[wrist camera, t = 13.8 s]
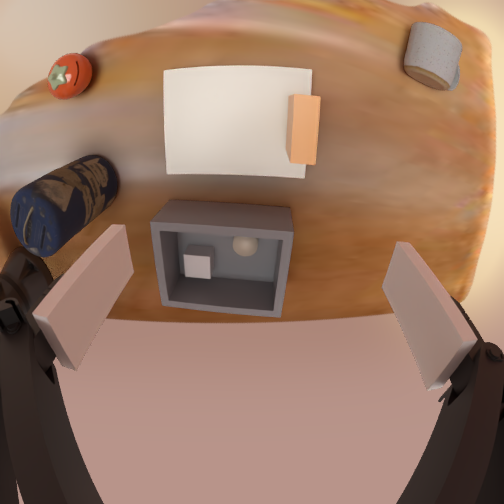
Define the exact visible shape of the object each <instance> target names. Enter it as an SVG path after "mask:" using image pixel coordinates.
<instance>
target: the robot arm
mask: <svg viewBox="0 0 504 504" xmlns="http://www.w3.org/2000/svg"><path fill="white" fill-rule="evenodd" d="M133 273H134V271H133V266H132V261H131V256H130V251H129V245H128V240H127V234H126V228H125V225H115V224H112V225H111V226H110V227H109V228H108V229H107V230H106V231H105V232H104V233H103V234H102V235H101V236H100V237H99V238H98V239H97V240H96V241H95V242H94V243H93V244H92V245H91V246H90V247H89V248H88V249H87V250H86V251H85V252H84V253H83V254H82V255H81V256H80V258H79V259H78V260H77V261H76V262H75V263H74V264H73V265H72V266H71V267H70V268H69V270H68V271H67V272H66V273H65V274H62V275H61V276H59V277H58V278H56V279H55V280H54V281H53V279H52V276H51V274H50V272H49V270H48V268H47V267H46V265H45V264H44V262H43V261H42V260H41V259H40V258H39V256H36V255H34V254H32V253H30V252H29V251H28V250H27V249H26V248H25V247H18V248H16V249H15V250H14V251H13V252H12V253H11V254H10V255H9V257H8V259H7V261H6V263H5V265H4V267H3V269H2V271H1V273H0V504H19V499H18V491H17V484H18V487H19V490H20V493H21V496H22V499H23V502H24V504H104V503H103V501H102V500H101V498H100V496H99V494H98V492H97V490H96V488H95V485H94V483H93V482H92V479H91V477H90V475H89V473H88V470H87V468H86V465H85V463H84V461H83V458H82V456H81V453H80V451H79V448H78V445H77V443H76V440H75V437H74V434H73V431H72V428H71V425H70V422H69V419H68V416H67V412H66V408H65V405H64V401H63V397H62V394H61V389H60V386H59V381H58V377H57V372H56V368H55V366H54V364H53V361H54V359H55V357H57V359H58V360H59V362H60V363H61V365H62V366H64V367H67V368H70V369H73V370H76V371H77V369H78V367H79V365H80V364H81V362H82V360H83V358H84V356H85V354H86V352H87V350H88V349H89V347H90V345H91V343H92V341H93V339H94V338H95V336H96V334H97V332H98V331H99V329H100V327H101V325H102V323H103V322H104V320H105V318H106V317H107V315H108V313H109V312H110V310H111V308H112V306H113V305H114V303H115V302H116V300H117V298H118V297H119V295H120V293H121V292H122V290H123V289H124V287H125V285H126V284H127V282H128V281H129V279H130V277H131V276H132V274H133ZM382 289H383V291H384V293H385V295H386V297H387V299H388V301H389V303H390V305H391V307H392V309H393V311H394V313H395V315H396V318H397V319H398V322H399V324H400V326H401V328H402V331H403V333H404V335H405V337H406V340H407V342H408V344H409V347H410V349H411V351H412V354H413V356H414V358H415V361H416V363H417V366H418V368H419V371H420V374H421V376H422V379H423V381H424V384H425V387H426V389H427V391H428V390H433V389H438V388H441V387H442V386H443V385H444V384H445V383H446V382H447V380H448V379H450V381H451V383H452V385H451V386H450V387H449V388H448V389H447V391H446V392H445V393H444V394H443V395H442V396H441V397H440V399H439V400H438V401H439V402H441V401H442V400H443V398H445V400H444V403H443V406H442V409H441V412H440V414H439V417H438V420H437V422H436V425H435V428H434V430H433V432H432V435H431V437H430V440H429V442H428V445H427V446H426V449H425V451H424V453H423V455H422V457H421V460H420V462H419V464H418V466H417V468H416V469H415V471H414V473H413V475H412V477H411V479H410V481H409V483H408V484H407V486H406V488H405V490H404V492H403V493H402V495H401V497H400V498H399V500H398V502H397V503H396V504H504V354H503V352H502V350H500V348H499V347H498V346H497V345H495V344H493V343H490V342H486V343H485V342H484V341H483V339H482V337H481V336H480V334H479V332H478V331H477V329H476V327H475V326H474V324H473V323H472V321H471V320H469V319H470V318H469V317H468V315H467V314H466V313H465V311H464V309H463V308H462V306H461V305H460V303H459V302H458V301H456V300H455V299H454V298H453V297H452V296H450V295H449V294H448V293H447V291H446V290H445V288H444V287H443V286H442V284H441V283H440V281H439V280H438V279H437V277H436V276H435V275H434V273H433V272H432V271H431V269H430V268H429V267H428V265H427V264H426V263H425V262H424V260H423V259H422V258H421V257H420V255H419V254H418V253H417V251H416V250H415V249H414V248H413V247H412V245H411V244H410V243H408V242H396V245H395V249H394V252H393V255H392V258H391V262H390V265H389V268H388V271H387V274H386V276H385V279H384V282H383V285H382ZM16 480H17V483H16Z"/></svg>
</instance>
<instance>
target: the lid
mask: <svg viewBox="0 0 504 504" xmlns="http://www.w3.org/2000/svg"><path fill="white" fill-rule="evenodd" d="M311 83H312V70H311V69H302V68H291V67H276V66H242V65H240V66H206V67H191V68H180V69H171V70H164V133H165V154H166V171H167V174H228V175H256V176H275V177H291V178H304V179H305V169H306V164H308V165H315V162H316V152H317V140H318V128H319V114H320V99H321V97H320V96H312V95H311Z"/></svg>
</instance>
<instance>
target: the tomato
mask: <svg viewBox="0 0 504 504" xmlns="http://www.w3.org/2000/svg"><path fill="white" fill-rule="evenodd" d="M92 75H93V69H92V66H91V63H90V61H89V60H88V59H87V58H86V57H85V56H83V55H80V54H78V53H70V54H66V55H64V56H62V57H61V58H59V59H58V60H57V61H56V62H55V63H54V65H53V66H52V67H51V70H50V72H49V75H48V88H49V91H50V93H51V94H52V95H53V96H54V97H56V98H57V99H65V100H67V99H70V98H73V97H75V96H77V95H79V94H80V93H81V92H82V91H84V90H85V88H86V87H87V86H88V85H89V83H90V81H91V79H92Z"/></svg>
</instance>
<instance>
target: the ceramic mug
mask: <svg viewBox="0 0 504 504" xmlns="http://www.w3.org/2000/svg"><path fill="white" fill-rule="evenodd" d="M461 52H462V44H461V42H460V41H459V40H458V39H457V38H456V37H455V36H454V35H453V34H451V33H450V32H448V31H447V30H445V29H443V28H441V27H439V26H437V25H434V24H430V23H426V22H416V23H414V24H412V26H411V32H410V36H409V41H408V46H407V50H406V54H405V58H404V70H405V71H406V73H407V74H408V75H409V76H411V77H412V78H414V79H415V80H417V81H419V82H421V83H423V84H425V85H427V86H430V87H432V88H435V89H438V90H450V91H452V90H454V89H455V88H456V87H457V85H458V82H459V78H460V69H459V65H458V63H459V59H460V56H461Z"/></svg>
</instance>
